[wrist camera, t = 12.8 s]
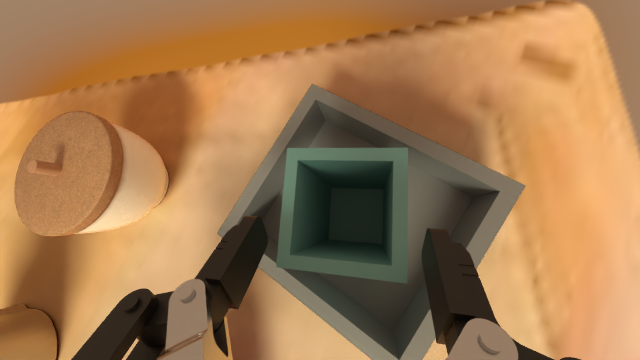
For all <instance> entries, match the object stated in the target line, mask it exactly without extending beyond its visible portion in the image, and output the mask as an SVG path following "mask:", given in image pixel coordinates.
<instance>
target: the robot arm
mask: <svg viewBox="0 0 640 360" xmlns="http://www.w3.org/2000/svg"><path fill="white" fill-rule="evenodd" d="M267 245H268V236H267V233H266V230H265V227H264V224H263V221H262V218H261V217H260V216H244V217H243V219H242V220H241V222H240V223H239V225H235V226H233V227H232V228H231V229H230V230H229V231H227V232H226V234H225V235H224V237H223V238H222V240H221V242H220V243H219V244H218V246H217V247H216V250H214V251H213V253H212V254H211V256H210V257H209V259H208V260H207V262H206V263H205V265H204V266H203V268H202V269H201V270H200V272H199V273H198V275H197V276H196V278H195V279H192V280H189V281H186V282H184V283H183V284H181V285H180V286H179V287H178V288H177V289H176V290H175V291H172V292H167V293H162V294H157V295H154V294H153V293H152V292H151V291H150V290H148V289H138V290H136V291H133V292H131V293H130V294H128V295H127V296H125V297H124V298H123V299H122V300H121V301H120V302H119V303H118V304H117V305H116V307H115V308H114V309H113V310H112V311H111V313H110V314H109V315H108V316H107V317H106V319H105V320H104V321H103V322H102V323H101V325H100V326H99V327H98V328H97V329H96V331H95V332H94V333H93V334H92V335H91V337H90V338H89V339H88V340H87V341H86V343H85V344H84V345H83V346H82V347H81V349H80V350H79V351H78V352H77V354H76V355H75V356H74V357H73V358H72V360H122V358H123V357H124V355H125V354H126V352H127V351H128V350H129V348H130V347H131V345H132V344H133V342H134V341H135V339H136V338H137V339H138V340H139V341H138V343H137V344H136V346H135V347H134V349H133V350H132V352H131V353H130V355H129V356H128V358H127V359H126V360H233V357H232V351H231V343H230V336H229V329H228V322H227V316H226V313H227V311H228V309H229V308H233V309H238V308H239V306H240V304H241V302H242V300H243V297H244V295H245V293H246V291H247V289H248V287H249V285H250V282H251V280H252V278H253V276H254V274H255V272H256V269H257V267H258V265H259V263H260V261H261V259H262V257H263V254H264V252H265V250H266V248H267ZM422 265H423V271H424V276H425V282H426V287H427V293H428V298H429V304H430V309H431V314H432V320H433V325H434V331H435V336H436V342H437V343H439V344H445V345H446V348H447V353H448V357H447V358H446V360H554V359H552V358H549V357H547V356H545V355H543V354H540V353H538V352H536V351H533V350H531V349H529V348H527V347H525V346H523V345H521V344H519V343H518V342H516V341H515V340H514V339H512V338H511V337H510V336H509V335H508V334H507V332H506V331H505V330H503V329H502V328H501V327H500V325H499V324H498V322H497V321H496V319H495V316H494V314H493V311H492V309H491V306H490V304H489V301H488V298H487V296H486V293H485V291H484V288H483V286H482V283H481V281H480V278H479V277H478V276H479V275H478V273H477V270H476V268H475V265H474V263H473V260H472V257H471V255H470V253H469V252H468V251H467V250H466V249H465V247H464V246H463V245H462V244H461V243H456V242H451V240H450V237H449V234H448V231H447V230H446V229H433V228H427V230H426V234H425V239H424V243H423V248H422ZM56 355H57V336H56V332H55V328H54V326H53V323H52V321H51V319H50V318H49V317H48V316H47V314H45V313H44V312H43V311H41V310H38V309H28V308H27V307H26V306H25V305H24V304H21V305H16V306H12V307H8V308H4V309H0V360H56ZM560 360H580V359H577V358H572V357H565V358H562V359H560Z"/></svg>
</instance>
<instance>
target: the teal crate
mask: <svg viewBox="0 0 640 360" xmlns="http://www.w3.org/2000/svg"><path fill="white" fill-rule="evenodd" d="M407 258H408V148H287V155H286V166H285V177H284V188H283V198H282V209H281V220H280V230H279V241H278V252H277V263H276V267H277V268H285V269H293V270H302V271H310V272H318V273H326V274H334V275H342V276H350V277H358V278H366V279H375V280H383V281H391V282H399V283H407Z"/></svg>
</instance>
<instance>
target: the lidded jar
mask: <svg viewBox="0 0 640 360" xmlns="http://www.w3.org/2000/svg"><path fill="white" fill-rule="evenodd" d="M168 185H169V175H168V171H167V169H166V167H165V165H164V163H163V160H162V158H161V156H160V155H159V153H158V152H157V151H156V149H155V148H154V147H153V146H152V145H151V144H150V143H148V142H147V141H146V140H144V139H143V138H141V137H140V136H138V135H137V134H135V133H133V132H131V131H129V130H128V129H125V128H123V127H121V126H118V125H116V124H113V123H111V122H108V121H107V120H105V119H103V118H101V117H99V116H96V115H94V114H91V113H88V112H83V111H76V112H69V113H65V114H63V115H60V116H58V117H56V118H55V119H53V120H51V121H50V122H49V123H47V124H46V125H45V126H44V127H43V128H42V129H41V130H40V131H39V132H38V133H37V134H36V135H35V137H34V138H33V139H32V141H31V142H30V144H29V145H28V147H27V149H26V150H25V152H24V154H23V157H22V159H21V161H20V164H19V167H18V171H17V175H16V180H15V191H14V193H15V204H16V208H17V211H18V214H19V217H20V218H21V220H22V222H23V223H24V224H25V225H26V226H27V228H29V229H30V230H32V231H33V232H35V233H37V234H40V235H43V236H64V235H71V234H81V233H93V232H101V231H108V230H112V229H116V228H120V227H124V226H126V225H129V224H131V223H134V222H136V221H138V220H139V219H141V218H143V217H144V216H145V215H147V214H148V213H149V212H150V211H151V210H152V209H153V208H155V207H156V206H157V205H158V204H159V203H160V202H161V201H162V200H163V198H164V197H165V195H166V192H167V189H168Z"/></svg>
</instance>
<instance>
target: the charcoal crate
mask: <svg viewBox="0 0 640 360" xmlns="http://www.w3.org/2000/svg"><path fill="white" fill-rule="evenodd" d="M287 148H408V258H407V283H399V282H391V281H383V280H375V279H366V278H358V277H350V276H342V275H334V274H326V273H318V272H310V271H302V270H293V269H285V268H277V267H276V263H277V252H278V241H279V230H280V220H281V209H282V198H283V188H284V177H285V166H286V155H287ZM524 188H525V185H523V184H521V183H519V182H517V181H515V180H513V179H511V178H509V177H507V176H504V175H502V174H500V173H498V172H496V171H494V170H492V169H490V168H488V167H486V166H484V165H481V164H479V163H477V162H475V161H473V160H471V159H469V158H467V157H465V156H463V155H461V154H458V153H456V152H454V151H452V150H450V149H448V148H446V147H444V146H442V145H440V144H438V143H435V142H433V141H431V140H429V139H427V138H425V137H423V136H421V135H419V134H417V133H414V132H412V131H410V130H408V129H406V128H404V127H402V126H400V125H398V124H396V123H394V122H391V121H389V120H387V119H385V118H383V117H381V116H379V115H377V114H375V113H373V112H371V111H368V110H366V109H364V108H362V107H360V106H358V105H356V104H354V103H352V102H350V101H347V100H345V99H343V98H341V97H339V96H337V95H335V94H333V93H331V92H329V91H327V90H324V89H322V88H320V87H318V86H316V85H314V84H312V85H311V87H310V88H309V90H308V91H307V93H306V94H305V96H304V98H303V99H302V101H301V102H300V104H299V105H298V107H297V109H296V110H295V112H294V113H293V115H292V116H291V118H290V120H289V121H288V123H287V124H286V126H285V127H284V129H283V131H282V132H281V134H280V135H279V137H278V138H277V140H276V142H275V143H274V145H273V146H272V148H271V149H270V151H269V152H268V154H267V156H266V157H265V159H264V160H263V162H262V163H261V165H260V167H259V168H258V170H257V171H256V173H255V174H254V176H253V178H252V179H251V181H250V182H249V184H248V185H247V187H246V189H245V190H244V192H243V193H242V195H241V196H240V198H239V200H238V201H237V203H236V204H235V206H234V207H233V209H232V211H231V212H230V214H229V215H228V217H227V218H226V220H225V222H224V223H223V225H222V226H221V228H220V229H219V231H218V233H217V234H218V235H220V236H221V237H222V238H223V237H224V235H225V234H226V232H227V231H229V230H230V229H231V228H232V227H233V226H235V225H239V223H240V222H241V220H242V219H243V217H244V216H260V217H261V218H262V221H263V224H264V227H265V230H266V233H267V236H268V245H267V248H266V250H265V252H264V254H263V257H262V259H261V261H260V263H259V265H258V267H259V268H260V269H261V270H263V271H264V272H265V273H266V274H268V275H269V276H270V277H271V278H272V279H274V280H275V281H276V282H277V283H279V284H280V285H281V286H282V287H283V288H285V289H286V290H287V291H288V292H290V293H291V294H292V295H293V296H294V297H296V298H297V299H298V300H299V301H301V302H302V303H303V304H304V305H306V306H307V307H308V308H309V309H310V310H312V311H313V312H314V313H315V314H317V315H318V316H319V317H320V318H321V319H323V320H324V321H325V322H326V323H328V324H329V325H330V326H331V327H333V328H334V329H335V330H336V331H337V332H339V333H340V334H341V335H342V336H344V337H345V338H346V339H347V340H348V341H350V342H351V343H352V344H353V345H355V346H356V347H357V348H358V349H359V350H361V351H362V352H363V353H364V354H366V355H367V356H368V357H369V358H371V359H372V360H423V358H424V356H425V355H426V353H427V351H428V350H429V348H430V346H431V344H432V343H433V341H434V339H435V338H436V336H435V331H434V325H433V320H432V314H431V309H430V304H429V298H428V293H427V287H426V282H425V276H424V271H423V265H422V248H423V243H424V239H425V234H426V230H427V228H433V229H446V230H447V231H448V234H449V237H450V240H451V242H456V243H461V244H462V245H463V246H464V247H465V249H466V250H467V251H468V252H469V253H470V255H471V257H472V260H473V263H474V265H475V268H476V269H477V267H478V265H479V264H480V262H481V260H482V258H483V257H484V255H485V253H486V252H487V250H488V248H489V247H490V245H491V243H492V242H493V240H494V238H495V237H496V235H497V233H498V231H499V230H500V228H501V226H502V225H503V223H504V221H505V220H506V218H507V216H508V215H509V213H510V211H511V210H512V208H513V206H514V205H515V203H516V201H517V199H518V198H519V196H520V194H521V193H522V191H523V189H524Z"/></svg>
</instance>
